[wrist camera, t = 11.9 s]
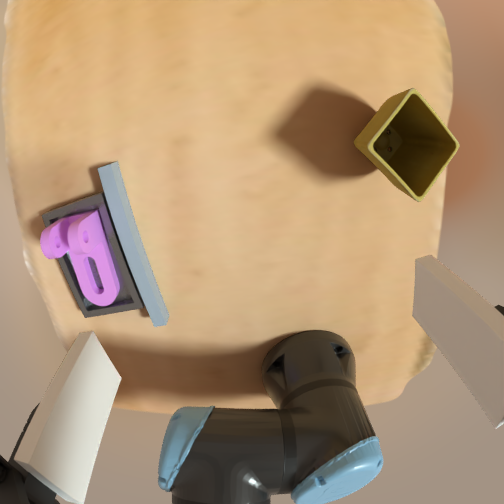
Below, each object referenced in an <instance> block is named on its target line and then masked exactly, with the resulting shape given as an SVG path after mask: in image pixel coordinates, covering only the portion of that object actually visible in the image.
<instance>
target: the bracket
mask: <svg viewBox="0 0 504 504" xmlns="http://www.w3.org/2000/svg"><path fill="white" fill-rule="evenodd" d="M40 244H41V249H42V252H43V254H44V255H45V256H46V257H47V258H48V259H54V258H60V257H62V256H63V255H64V254H65V253H66V252H68V251H69V255H70V258H71V261H72V264H73V267H74V270H75V273H76V276H77V279H78V282H79V285H80V288H81V290H82V292H83V294H84V296H85V297H86V298H87V299H88V300H89V301H90V302H92V303H93V304H95V305H99V306H107V305H110V304H111V303H112V302H113V301H114V300H115V298H116V297H117V295H118V293H119V289H120V285H119V281H118V278H117V275H116V271H115V268H114V264H113V261H112V257H111V254H110V250H109V247H108V243H107V239H106V235H105V231H104V227H103V223H102V219H101V215H100V211H99V209H96V210H91V211H86V212H81V213H76V214H72V215H67V216H64V217H62V218H61V219H59V220H58V221H56V222H54V223H53V224H51V225H50V226H48V227H47V228H45V229H44V230H43V232H42V234H41V238H40ZM88 257H91V258H93V259H94V260H95V263H96V266H97V269H98V272H99V275H100V278H101V281H102V284H103V287H104V289H100V288H98V287H97V286H96V283H95V280H94V277H93V274H92V271H91V268H90V265H89V261H88Z"/></svg>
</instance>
